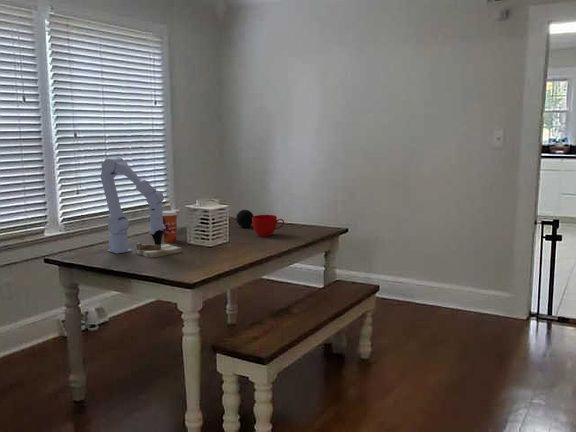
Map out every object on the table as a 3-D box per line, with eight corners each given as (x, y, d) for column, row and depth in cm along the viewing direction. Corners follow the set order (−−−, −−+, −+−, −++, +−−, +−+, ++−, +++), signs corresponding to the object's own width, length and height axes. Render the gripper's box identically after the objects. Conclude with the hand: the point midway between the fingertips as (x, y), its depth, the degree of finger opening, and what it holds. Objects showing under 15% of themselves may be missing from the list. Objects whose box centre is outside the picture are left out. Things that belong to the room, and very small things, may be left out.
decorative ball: (251, 229, 335) (250, 211, 333) (234, 228, 337) (233, 211, 336) (256, 225, 345) (255, 208, 343) (239, 225, 347) (239, 208, 345)
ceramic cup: (282, 238, 308) (281, 219, 307) (250, 237, 311) (249, 218, 309) (286, 233, 321) (286, 214, 319) (255, 232, 324) (254, 214, 322)
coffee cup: (167, 243, 301) (165, 213, 298) (159, 240, 307) (157, 211, 305) (181, 240, 306) (180, 211, 304) (173, 238, 312) (172, 209, 310)
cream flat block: (135, 253, 279) (135, 248, 279) (165, 247, 290) (165, 243, 289) (151, 257, 269) (151, 253, 269) (181, 252, 280) (181, 247, 279)
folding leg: (136, 249, 277) (135, 243, 276) (137, 248, 279) (137, 242, 279) (159, 249, 276) (159, 244, 275) (161, 248, 278) (161, 242, 278)
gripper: (159, 220, 268) (161, 250, 271) (169, 215, 283) (171, 243, 285) (144, 220, 269) (146, 249, 272) (155, 215, 284) (157, 243, 286)
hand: (158, 246), depth 278 cm, fingers closed, pressing on folding leg
